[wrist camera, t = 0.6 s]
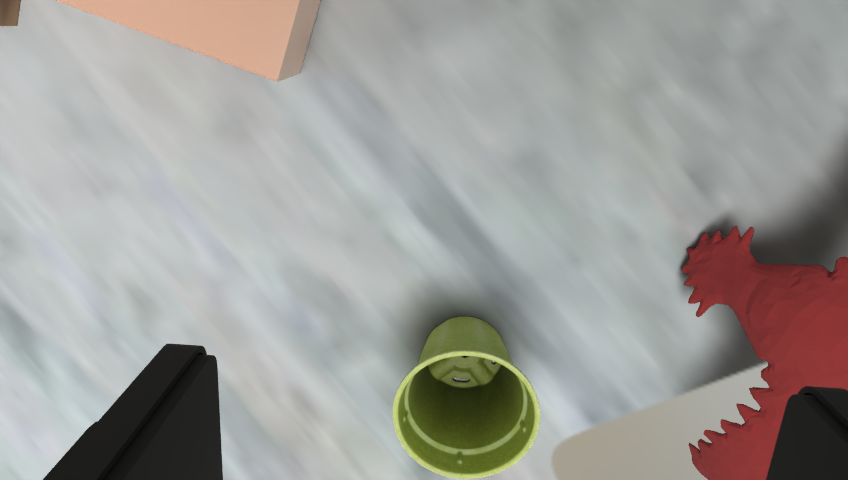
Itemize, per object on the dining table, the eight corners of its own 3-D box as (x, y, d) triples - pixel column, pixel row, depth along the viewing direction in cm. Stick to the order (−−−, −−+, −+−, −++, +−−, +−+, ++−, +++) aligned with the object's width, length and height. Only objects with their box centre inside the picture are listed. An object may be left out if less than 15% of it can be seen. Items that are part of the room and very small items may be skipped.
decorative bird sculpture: (632, 396, 55) (804, 534, 45) (573, 410, 48) (759, 576, 39) (826, 81, 46) (1089, 171, 36) (786, 46, 39) (1095, 144, 30)
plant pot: (398, 399, 51) (388, 472, 42) (406, 289, 48) (396, 345, 39) (516, 409, 51) (530, 485, 42) (532, 300, 48) (550, 359, 39)
